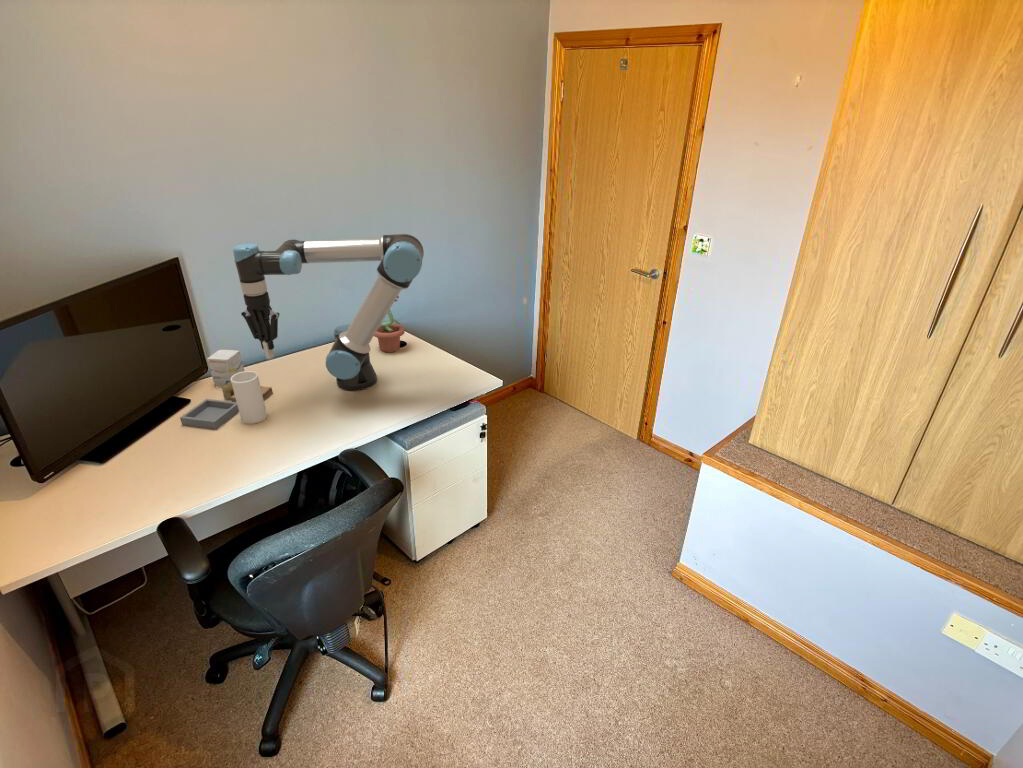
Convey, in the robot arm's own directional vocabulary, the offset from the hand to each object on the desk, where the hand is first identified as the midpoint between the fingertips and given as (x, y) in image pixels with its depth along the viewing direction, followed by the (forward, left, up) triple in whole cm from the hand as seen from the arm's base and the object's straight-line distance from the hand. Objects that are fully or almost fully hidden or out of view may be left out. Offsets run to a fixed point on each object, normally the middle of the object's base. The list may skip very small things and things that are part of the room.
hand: (270, 357), depth 188 cm
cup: (+2, +12, -18) cm, 22 cm away
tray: (+16, +15, -18) cm, 28 cm away
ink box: (+27, -10, -18) cm, 34 cm away
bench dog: (+19, 0, -18) cm, 26 cm away
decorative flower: (-22, -52, -18) cm, 59 cm away
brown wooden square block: (+11, 0, -18) cm, 21 cm away
